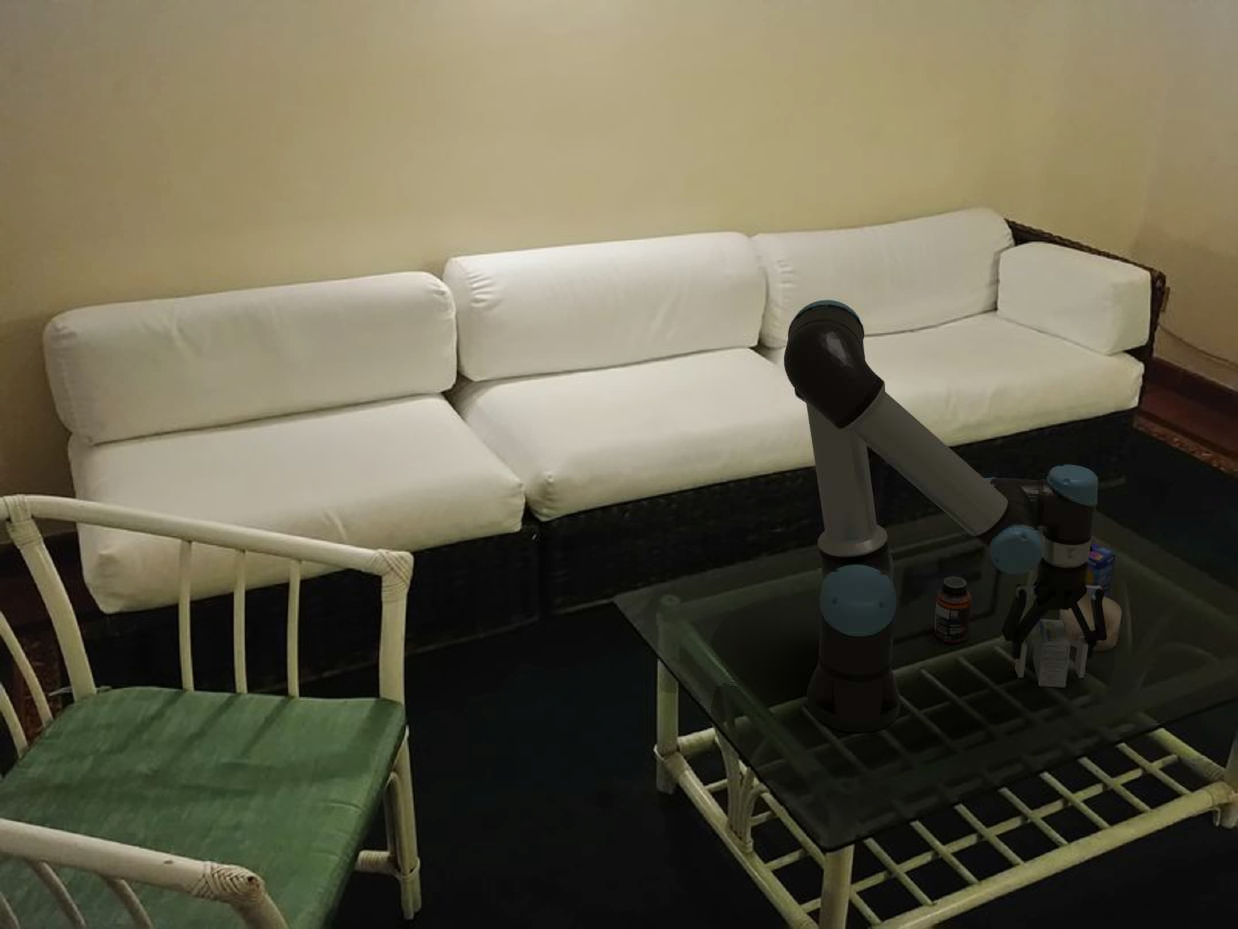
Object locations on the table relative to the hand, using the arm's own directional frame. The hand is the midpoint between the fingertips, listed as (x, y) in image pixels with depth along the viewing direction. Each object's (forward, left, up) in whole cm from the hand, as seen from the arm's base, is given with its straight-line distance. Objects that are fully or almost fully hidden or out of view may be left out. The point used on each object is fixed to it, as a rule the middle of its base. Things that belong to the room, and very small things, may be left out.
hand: (1048, 673), depth 193 cm
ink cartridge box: (+11, +23, 0) cm, 26 cm away
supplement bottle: (-14, +12, 0) cm, 19 cm away
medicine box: (0, 0, 0) cm, 0 cm away
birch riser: (+10, +12, 0) cm, 16 cm away
